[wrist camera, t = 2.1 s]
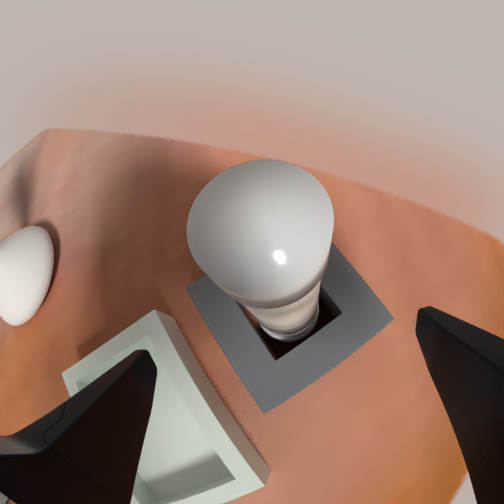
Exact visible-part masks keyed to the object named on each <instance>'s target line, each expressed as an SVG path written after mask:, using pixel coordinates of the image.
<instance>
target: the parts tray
mask: <svg viewBox="0 0 504 504" xmlns="http://www.w3.org/2000/svg"><path fill="white" fill-rule="evenodd" d="M138 349H146V350H148V351H149V353H150V355H151V357H152V359H153V360H154V362H155V364H156V366H157V379H156V386H155V392H154V399H153V406H152V411H151V415H150V419H149V423H148V427H147V431H146V435H145V439H144V444H143V448H142V452H141V456H140V461H139V465H138V470H137V474H136V479H135V484H134V489H133V494H132V499H131V504H222V503H225V502H228V501H230V500H233V499H235V498H238V497H240V496H243V495H245V494H248V493H250V492H252V491H255V490H257V489H259V488H261V487H264V486H265V484H266V482H267V479H268V477H269V475H270V472H271V469H270V468H269V467H268V465H267V464H266V463H265V461H264V460H263V459H262V457H261V456H260V455H259V453H258V452H257V451H256V449H255V448H254V446H253V445H252V444H251V442H250V441H249V439H248V438H247V437H246V435H245V434H244V432H243V431H242V429H241V428H240V427H239V425H238V424H237V422H236V421H235V419H234V418H233V416H232V415H231V413H230V412H229V410H228V409H227V407H226V406H225V404H224V402H223V401H222V399H221V398H220V396H219V395H218V393H217V391H216V390H215V388H214V387H213V385H212V383H211V382H210V380H209V378H208V377H207V375H206V374H205V372H204V370H203V368H202V367H201V365H200V363H199V362H198V360H197V358H196V357H195V355H194V353H193V351H192V350H191V348H190V346H189V344H188V342H187V341H186V339H185V337H184V335H183V333H182V332H181V330H180V328H179V326H178V324H177V322H176V320H175V319H174V318H173V317H171V316H169V315H167V314H165V313H162V312H160V311H158V310H156V309H154V310H152V311H151V312H149V313H148V314H147V315H145V316H144V317H142V318H141V319H139V320H138V321H136V322H135V323H134V324H132V325H131V326H129V327H128V328H126V329H125V330H123V331H122V332H120V333H119V334H118V335H116V336H115V337H113V338H112V339H110V340H109V341H107V342H106V343H105V344H103V345H102V346H100V347H99V348H97V349H96V350H95V351H93V352H92V353H90V354H89V355H87V356H86V357H84V358H83V359H82V360H80V361H79V362H77V363H76V364H74V365H73V366H72V367H70V368H69V369H67V370H66V371H64V372H63V373H62V376H63V379H64V382H65V384H66V387H67V390H68V392H69V395H70V398H71V397H72V396H73V395H75V394H76V393H77V392H79V391H80V390H82V389H83V388H84V387H86V386H87V385H88V384H90V383H91V382H93V381H94V380H95V379H97V378H98V377H99V376H101V375H102V374H104V373H105V372H106V371H108V370H109V369H110V368H112V367H113V366H115V365H116V364H117V363H119V362H120V361H121V360H123V359H124V358H125V357H127V356H128V355H130V354H131V353H132V352H134V351H135V350H138Z"/></svg>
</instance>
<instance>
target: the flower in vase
mask: <svg viewBox="0 0 504 504" xmlns="http://www.w3.org/2000/svg"><path fill="white" fill-rule="evenodd" d="M53 265H54V250H53V245H52V242H51V238H50V236H49V234H48V232H47V231H46V230H45V229H44V228H42V227H38V226H28V227H25V228H23V229H20V230H18V231H16V232H15V233H13V234H12V235H10V236H9V237H7V238H6V239H4V240H3V241H1V242H0V316H1V317H2V318H3V319H4V320H5V321H6V322H7V323H8V324H10V325H13V326H17V325H20V324H22V323H24V322H26V321H28V320H29V319H31V318H32V317H33V316H34V314H35V313H36V312H37V311H38V309H39V308H40V306H41V304H42V302H43V300H44V298H45V296H46V294H47V291H48V288H49V285H50V282H51V277H52V272H53Z"/></svg>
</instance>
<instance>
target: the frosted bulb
mask: <svg viewBox="0 0 504 504" xmlns="http://www.w3.org/2000/svg"><path fill="white" fill-rule="evenodd" d="M333 226H334V214H333V207H332V204H331V201H330V198H329V196H328V194H327V192H326V190H325V189H324V187H323V186H322V184H321V183H320V182H319V181H318V180H317V179H316V178H315V177H314V176H313V175H311V174H310V173H309V172H307V171H306V170H304V169H302V168H300V167H298V166H296V165H294V164H291V163H288V162H283V161H278V160H254V161H249V162H244V163H241V164H238V165H235V166H233V167H231V168H229V169H227V170H225V171H223V172H221V173H220V174H218V175H217V176H216V177H214V178H213V179H212V180H211V181H210V182H208V183H207V184H206V186H205V187H204V188H203V189H202V190H201V191H200V193H199V194H198V196H197V197H196V199H195V201H194V202H193V204H192V207H191V209H190V212H189V216H188V220H187V241H188V246H189V249H190V252H191V254H192V256H193V258H194V260H195V261H196V263H197V264H198V266H199V267H200V268H201V269H202V270H203V271H204V272H205V273H206V274H207V275H208V276H209V277H210V278H211V279H212V280H213V281H214V282H215V283H216V284H217V285H218V286H219V287H220V288H221V289H222V290H223V291H224V292H225V293H226V294H227V295H228V296H229V297H231V298H232V299H233V300H235V301H237V302H239V303H241V304H243V305H244V306H245V307H246V308H247V309H248V310H249V311H250V312H251V314H252V315H253V316H254V317H255V318H256V320H257V321H258V322H259V323H260V325H261V327H262V328H263V329H264V330H265V331H266V332H267V333H268V334H269V335H270V336H271V337H272V338H274V339H275V340H277V341H280V342H284V343H294V342H298V341H300V340H303V339H304V338H306V337H307V336H308V335H309V334H310V333H311V332H312V331H313V329H314V328H315V325H316V323H317V319H318V314H319V304H318V301H319V291H320V283H321V278H322V276H323V274H324V272H325V270H326V267H327V264H328V259H329V253H330V246H331V240H332V233H333Z"/></svg>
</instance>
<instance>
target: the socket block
mask: <svg viewBox="0 0 504 504" xmlns="http://www.w3.org/2000/svg"><path fill="white" fill-rule="evenodd" d="M186 290H187V292H188V293H189V295H190V297H191V299H192V300H193V302H194V304H195V306H196V307H197V309H198V311H199V313H200V314H201V316H202V318H203V319H204V321H205V323H206V325H207V326H208V328H209V330H210V331H211V333H212V335H213V336H214V338H215V340H216V341H217V343H218V344H219V346H220V348H221V349H222V351H223V353H224V354H225V356H226V357H227V359H228V361H229V362H230V364H231V365H232V367H233V368H234V370H235V372H236V373H237V375H238V376H239V378H240V379H241V381H242V382H243V384H244V385H245V387H246V388H247V390H248V391H249V393H250V394H251V396H252V397H253V399H254V400H255V402H256V403H257V405H258V406H259V408H260V409H261V410H262V412H263V413H266V412H268V411H269V410H271V409H273V408H274V407H276V406H277V405H279V404H281V403H282V402H284V401H285V400H287V399H289V398H290V397H292V396H293V395H295V394H296V393H298V392H299V391H301V390H302V389H304V388H305V387H307V386H308V385H310V384H311V383H313V382H314V381H316V380H317V379H319V378H320V377H321V376H323V375H324V374H326V373H327V372H328V371H330V370H331V369H333V368H334V367H335V366H337V365H338V364H339V363H341V362H342V361H343V360H345V359H346V358H347V357H349V356H350V355H351V354H352V353H354V352H355V351H356V350H358V349H359V348H360V347H361V346H363V345H364V344H365V343H366V342H367V341H369V340H370V339H371V338H372V337H374V336H375V335H376V334H377V333H378V332H379V331H381V330H382V329H383V328H384V327H385V326H386V325H388V324H389V323H390V322H391V321H392V320H393V319H394V318H393V317H392V315H391V314H390V313H389V311H388V310H387V309H386V308H385V306H384V305H383V304H382V302H381V301H380V300H379V299H378V297H377V296H376V295H375V294H374V292H373V291H372V290H371V289H370V287H369V286H368V285H367V284H366V282H365V281H364V280H363V279H362V277H361V276H360V275H359V274H358V273H357V271H356V270H355V269H354V268H353V267H352V265H351V264H350V263H349V262H348V261H347V259H346V258H345V257H344V256H343V255H342V253H341V252H340V251H339V250H338V249H337V248H336V246H335V245H334V244H333V243H332V242H331V246H330V253H329V259H328V264H327V267H326V270H325V272H324V274H323V276H322V278H321V283H320V291H319V298H320V299H321V301H322V302H323V303H324V305H325V306H326V307H327V309H328V310H329V311H330V313H331V314H332V315H333V317H334V318H335V319H334V320H333V321H331V322H330V323H329V324H327V325H326V326H325V327H323V328H322V329H321V330H319V331H318V332H317V333H315V334H314V335H312V336H311V337H310V338H308V339H307V340H305V341H304V342H303V343H301V344H300V345H298V346H297V347H295V348H294V349H293V350H291V351H290V352H288V353H287V354H285V355H284V356H282V357H281V358H279V359H277V357H276V356H275V354H274V353H273V351H272V350H271V348H270V347H269V346H268V344H267V343H266V341H265V340H264V338H263V337H262V335H261V334H260V332H259V331H258V329H257V328H256V326H255V325H254V323H253V322H252V320H251V319H250V317H249V316H248V314H247V313H246V311H245V310H244V308H243V307H244V305H243V304H241V303H239V302H237V301H235V300H233V299H232V298H231V297H229V296H228V295H227V294H226V293H225V292H224V291H223V290H222V289H221V288H220V287H219V286H218V285H217V284H216V283H215V282H214V281H213V280H212V279H211V278H210V277H209V276H208V275H207V274H205V275H204V276H202V277H201V278H199V279H198V280H196V281H195V282H193V283H192V284H190V285H189V286H187V287H186Z"/></svg>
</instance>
